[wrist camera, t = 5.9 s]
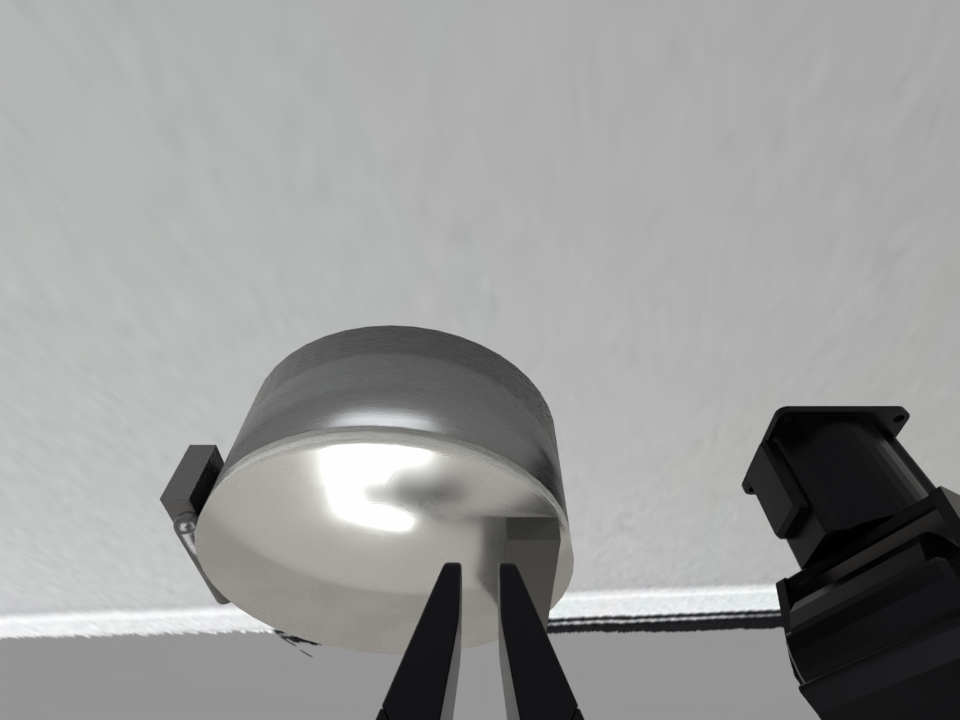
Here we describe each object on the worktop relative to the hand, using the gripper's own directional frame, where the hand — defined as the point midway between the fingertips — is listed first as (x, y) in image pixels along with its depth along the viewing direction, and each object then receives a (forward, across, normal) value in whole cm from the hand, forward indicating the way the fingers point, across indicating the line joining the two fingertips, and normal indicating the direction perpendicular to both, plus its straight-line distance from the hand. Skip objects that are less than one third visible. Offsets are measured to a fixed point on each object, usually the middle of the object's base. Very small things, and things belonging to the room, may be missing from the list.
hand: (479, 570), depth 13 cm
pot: (+13, +4, +10) cm, 17 cm away
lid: (+7, +4, +10) cm, 13 cm away
